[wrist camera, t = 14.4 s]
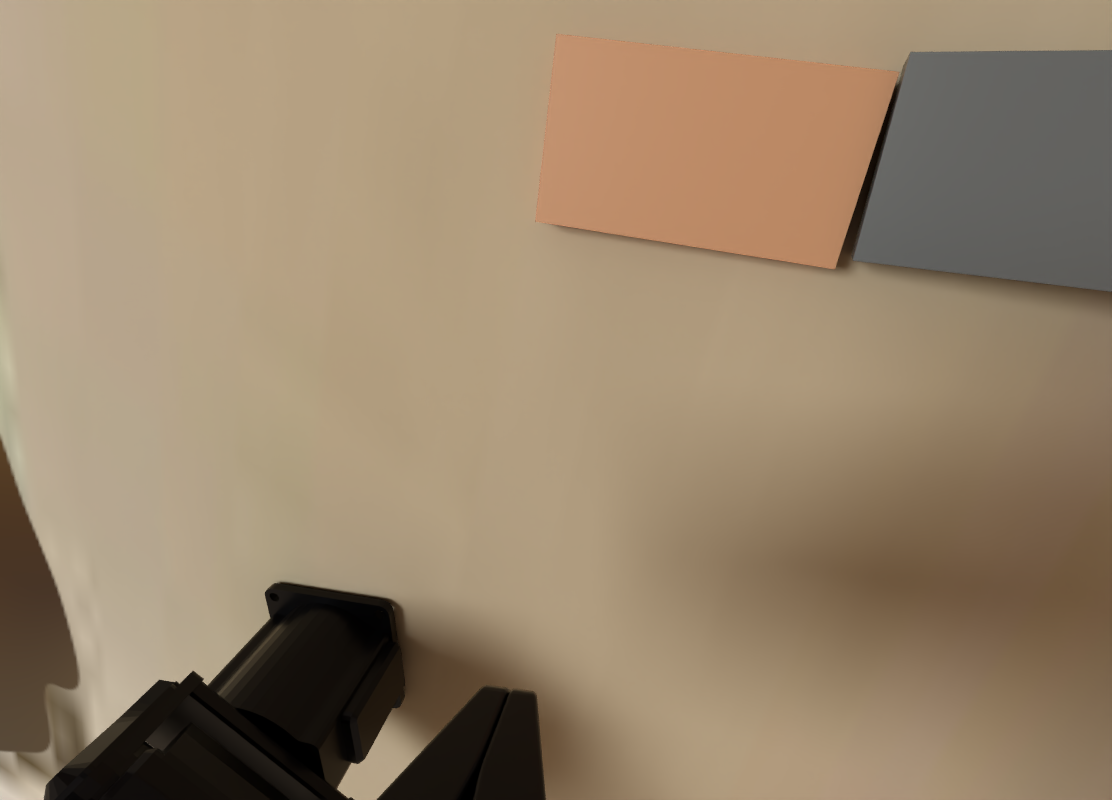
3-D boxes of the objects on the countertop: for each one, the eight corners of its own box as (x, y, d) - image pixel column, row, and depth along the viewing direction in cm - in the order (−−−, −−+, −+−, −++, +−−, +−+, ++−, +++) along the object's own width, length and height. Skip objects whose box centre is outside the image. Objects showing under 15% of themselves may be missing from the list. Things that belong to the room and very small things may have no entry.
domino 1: (535, 221, 17) (834, 269, 16) (556, 33, 15) (899, 72, 14) (546, 218, 19) (821, 262, 17) (567, 47, 17) (878, 82, 15)
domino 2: (852, 260, 15) (1309, 315, 12) (910, 51, 13) (1472, 47, 10) (851, 255, 17) (1260, 303, 13) (903, 65, 15) (1396, 65, 11)
